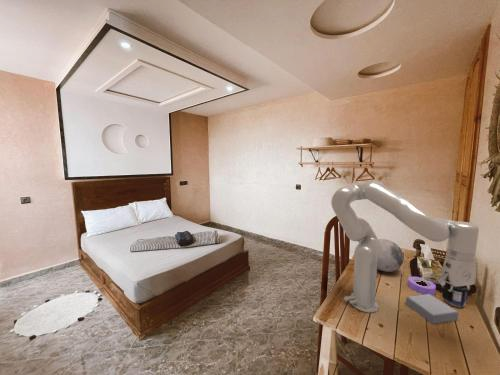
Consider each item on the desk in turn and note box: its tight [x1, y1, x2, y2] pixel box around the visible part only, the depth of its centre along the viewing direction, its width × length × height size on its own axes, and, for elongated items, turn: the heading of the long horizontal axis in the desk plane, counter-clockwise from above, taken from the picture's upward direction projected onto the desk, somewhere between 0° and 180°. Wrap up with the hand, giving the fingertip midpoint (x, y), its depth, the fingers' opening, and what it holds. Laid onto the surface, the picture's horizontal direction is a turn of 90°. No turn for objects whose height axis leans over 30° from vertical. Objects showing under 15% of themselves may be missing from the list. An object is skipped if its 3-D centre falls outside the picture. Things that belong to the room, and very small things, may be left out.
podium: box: [405, 294, 459, 325], centre depth 96 cm, size 13×13×4 cm
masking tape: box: [407, 276, 437, 296], centre depth 114 cm, size 12×12×4 cm
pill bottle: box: [443, 284, 469, 310], centre depth 80 cm, size 6×6×11 cm
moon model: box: [377, 238, 405, 273], centre depth 133 cm, size 20×20×20 cm
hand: (454, 297), depth 80 cm, fingers closed on pill bottle, 6 cm apart
